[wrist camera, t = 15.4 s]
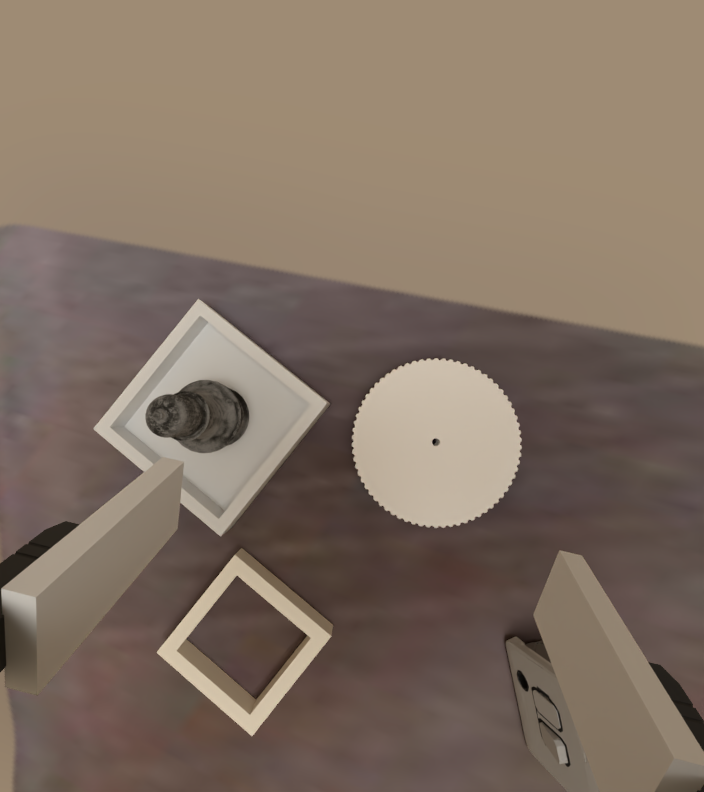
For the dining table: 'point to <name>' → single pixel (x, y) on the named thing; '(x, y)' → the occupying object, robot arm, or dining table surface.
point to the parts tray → (238, 370)
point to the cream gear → (451, 454)
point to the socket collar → (216, 680)
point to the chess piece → (200, 416)
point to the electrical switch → (548, 717)
